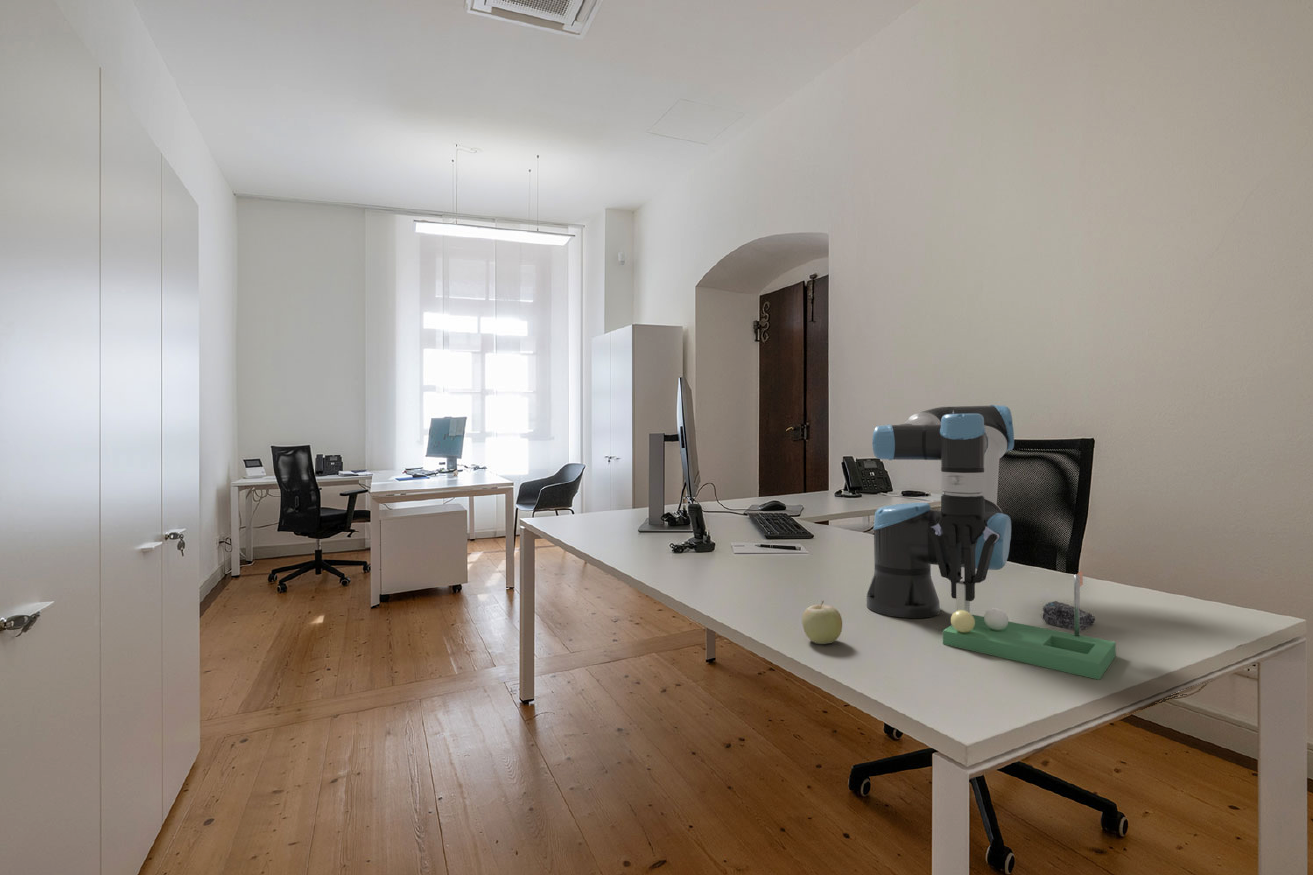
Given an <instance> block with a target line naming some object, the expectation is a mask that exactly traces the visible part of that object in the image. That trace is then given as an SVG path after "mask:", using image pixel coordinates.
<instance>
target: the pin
mask: <svg viewBox="0 0 1313 875" xmlns="http://www.w3.org/2000/svg"><path fill="white" fill-rule="evenodd" d="M1083 573H1084V572H1083V571H1081V570H1080V571H1079V572H1077V573H1076V574H1074V575H1073V577H1074V578H1073V582H1074V584H1073V588H1074V591H1073V594H1074V595H1073V596H1074V600H1073V602H1074V605H1073V607H1074V630H1073V631H1074V632H1073V634H1074V636H1077V637H1079V636H1080V635H1081V631H1080V609H1081V608H1080V607H1081V605H1080V600H1081V596H1080V595H1081V594H1080V593H1081V588H1080V587H1082V586H1083V584H1084V582H1083V581H1084V580H1083V579H1084V578H1083V576H1084V575H1083Z"/></svg>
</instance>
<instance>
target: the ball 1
mask: <svg viewBox="0 0 1313 875" xmlns="http://www.w3.org/2000/svg"><path fill="white" fill-rule="evenodd" d="M971 614H972V613H971V612H970V613H969V612H967V611H964V610H958V611H956V610H955V611H954V612H953V613H952V614H951V616H950V624H951V625H952V626H953V627H954V629H956V630H957V631H959V632H962V633H967V632H970V631H971V630H972V629H973V628H974V626H975V620H974V617H973V616H972V615H973V614H972V615H971Z"/></svg>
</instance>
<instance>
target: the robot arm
mask: <svg viewBox="0 0 1313 875" xmlns="http://www.w3.org/2000/svg"><path fill="white" fill-rule="evenodd" d="M1012 416H1013V415H1012V412H1011V409H1010V408H1009V407H1008V406H1006V405H995V404H990V405H970V406H968V405H967V406H965V405H963V406H961V405H960V406H940V407H935V408H931V409H930V408H929V409H927V410H924V411H923V410H922V411H921V412H918V413H915V414H912V415H911V416H909V418H907V420H906V421H905V422H902V423H900V424H886V425H885V424H883V425H877V426H875V427H874V430H873V433H872V445H871V446H872V453H873V455H874V457H875V458H876V459H879V460H888V461H893V460H894V461H895V460H899V461H900V460H901V461H903V460H904V461H908V460H909V461H910V460H911V461H912V460H913V461H921V460H922V461H924V460H925V461H941V462H940V463H941V466H940V491H942V493H943V494H941V496H940V510H932V507H931V505H930V503H928V502H909V503H908V502H907V503H906V502H905V503H899V504H898V503H897V504H896V503H895V504H891V505H890V504H889V505H885V506H881V507H879V508H877V509H876V511H875V513H874V520H873V522H874V523H873V528H872V530H873V544H874V545H873V549H874V551H873V553H874V554H873V555H874V556H873V557H874V558H873V559H874V561H873V562H874V573H873V575H872V579H871V582H870V585H869V586H868V591H867V594H866V607H867V608H868V609H870V610H871V611H873V612H875V613H878V614H881V615H884V616H888V617H889V616H890V617H896V618H903V619H904V618H906V619H924V618H925V619H926V618H931V617H935V616H937V615H939V614H940V610H941V608H940V607H941V606H940V605H941V604H940V599H939V597H938V596H939V595H938V593H937V590H936V588H935V585H934V581H933V578H932V573H931V569H932V568H931V565H936V566H938V570H939V573H940V576H941V577H942V578H946V579H947V580H949V581H950V588H951V589H950V592H951V593H950V595H951V598H952V599H954V600H956V603H955V604H956V605H955V608H956V610H955V612H956V611H958V610H964V611H967V612H969V613H970V614H971V612H970V611H971V610H970V605H971V602H972V601H974V600H975V598H976V597H975V596H976V593H975V592H976V587H975V585H976V584H980V583H982V582H985V580H986V578H987V574H988V571H991V570H992V571H998V570H1000V569H1003V568H1004V567H1005V565H1006V563H1007V560H1008V559H1009V554H1010V548H1011V547H1010V546H1011V545H1010V544H1011V539H1012V520H1011V517H1010V516H1009V515H1008V514H1005V513H1003V511H1002V509H1001V508H1000V506H999V505H997V503H998V491H999V490H998V489H999V474H1000V473H999V471H1000V470H999V468H1000V459H1001V458H1002V457H1003V456H1004V455H1005V454H1006V453H1007V452H1008V451H1009V452H1010V451H1012V450H1013V449H1014V447H1015V435H1014V434H1015V432H1014V424H1013V417H1012ZM962 568H964V572H963V574H964V580H962V579H963V576H962Z"/></svg>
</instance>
